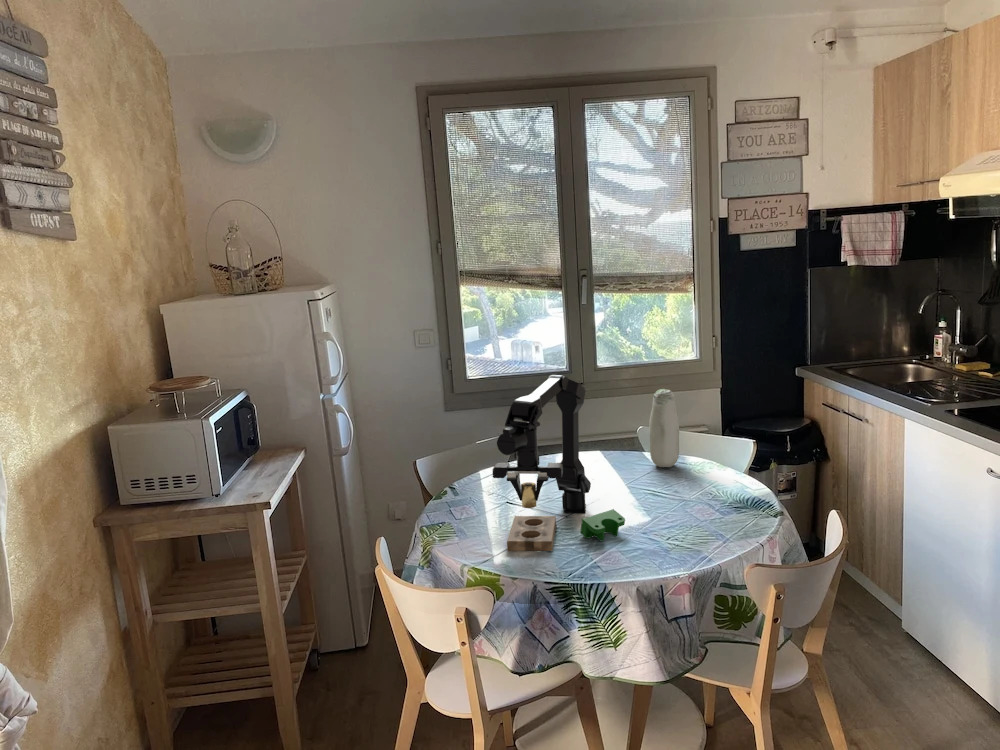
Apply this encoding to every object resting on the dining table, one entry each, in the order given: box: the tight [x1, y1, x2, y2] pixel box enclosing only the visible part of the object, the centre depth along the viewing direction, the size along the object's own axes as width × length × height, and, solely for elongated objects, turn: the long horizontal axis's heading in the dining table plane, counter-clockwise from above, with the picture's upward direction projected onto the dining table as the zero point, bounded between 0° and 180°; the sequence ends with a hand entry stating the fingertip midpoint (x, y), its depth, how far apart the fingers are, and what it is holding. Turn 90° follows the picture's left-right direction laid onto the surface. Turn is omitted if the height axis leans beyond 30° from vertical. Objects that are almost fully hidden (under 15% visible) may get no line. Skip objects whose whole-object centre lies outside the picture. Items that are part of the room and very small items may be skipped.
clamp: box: [580, 508, 626, 542], centre depth 205 cm, size 12×6×9 cm, turn 114°
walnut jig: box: [506, 515, 557, 552], centre depth 206 cm, size 12×18×3 cm
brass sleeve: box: [520, 482, 537, 509], centre depth 202 cm, size 4×4×6 cm
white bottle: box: [648, 388, 680, 468], centre depth 257 cm, size 10×10×28 cm
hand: (529, 500), depth 202 cm, fingers closed on brass sleeve, 4 cm apart
